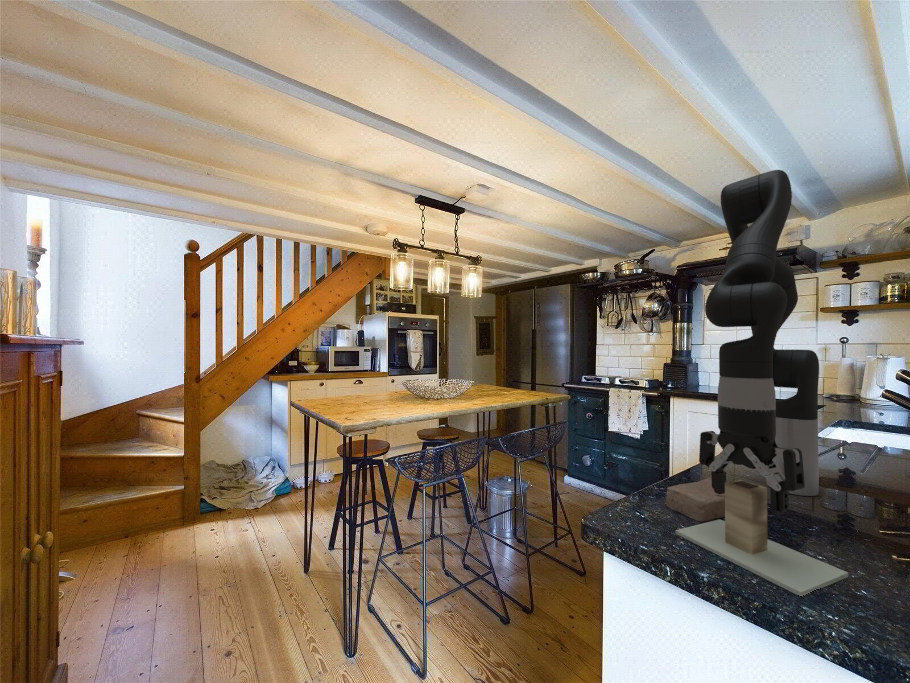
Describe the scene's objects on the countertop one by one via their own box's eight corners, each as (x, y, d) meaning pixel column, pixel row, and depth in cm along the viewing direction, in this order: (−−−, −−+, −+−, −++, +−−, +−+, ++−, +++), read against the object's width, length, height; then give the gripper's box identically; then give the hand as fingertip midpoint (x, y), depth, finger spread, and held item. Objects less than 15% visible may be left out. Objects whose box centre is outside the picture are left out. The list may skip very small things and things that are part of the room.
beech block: (740, 538, 63) (739, 478, 63) (767, 549, 59) (766, 486, 60) (725, 542, 62) (724, 481, 62) (752, 554, 58) (751, 490, 58)
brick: (702, 524, 70) (702, 499, 70) (663, 506, 78) (663, 484, 78) (757, 511, 76) (757, 488, 76) (715, 496, 84) (715, 475, 84)
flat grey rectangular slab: (719, 522, 70) (719, 519, 70) (848, 576, 53) (848, 572, 53) (675, 533, 66) (675, 530, 66) (801, 596, 49) (801, 592, 49)
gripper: (813, 409, 56) (815, 517, 56) (716, 397, 69) (717, 484, 69) (784, 413, 53) (785, 526, 53) (688, 400, 66) (689, 490, 66)
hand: (747, 502), depth 61 cm, fingers open, 8 cm apart
